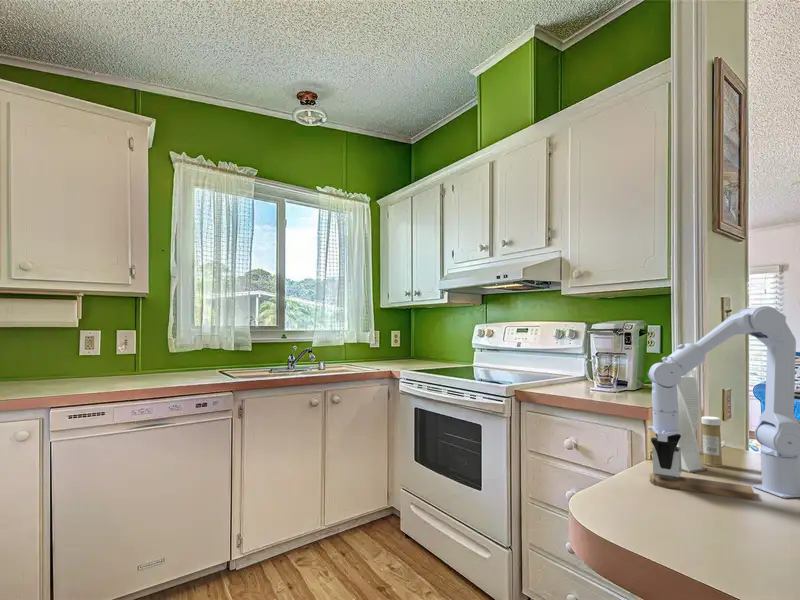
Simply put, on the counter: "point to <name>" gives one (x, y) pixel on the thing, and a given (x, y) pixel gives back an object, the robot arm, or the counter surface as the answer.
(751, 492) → the walnut base
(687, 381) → the skyscraper
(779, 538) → the counter surface
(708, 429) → the sprinkles bottle
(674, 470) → the steel collar
